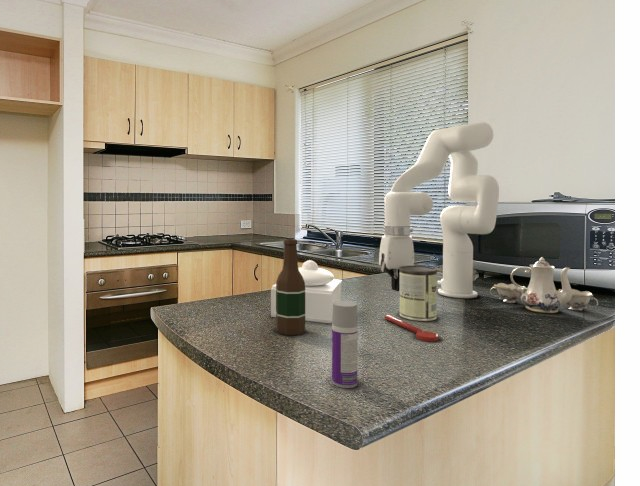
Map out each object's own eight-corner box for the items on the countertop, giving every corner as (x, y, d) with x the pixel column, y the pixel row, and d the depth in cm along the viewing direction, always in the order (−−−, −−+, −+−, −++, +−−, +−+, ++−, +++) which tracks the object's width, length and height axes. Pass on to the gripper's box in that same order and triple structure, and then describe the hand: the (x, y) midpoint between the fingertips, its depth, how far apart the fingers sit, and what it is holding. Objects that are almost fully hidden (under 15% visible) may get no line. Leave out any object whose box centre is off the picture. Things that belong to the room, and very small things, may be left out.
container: (328, 378, 84) (328, 300, 84) (352, 377, 85) (352, 300, 84) (336, 388, 80) (336, 307, 79) (361, 387, 80) (361, 306, 80)
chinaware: (591, 312, 137) (590, 259, 138) (605, 319, 123) (604, 260, 124) (489, 302, 150) (489, 253, 152) (491, 308, 136) (491, 254, 137)
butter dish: (270, 316, 127) (270, 262, 127) (287, 302, 144) (287, 254, 143) (331, 323, 120) (331, 266, 120) (341, 307, 137) (342, 257, 137)
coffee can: (400, 310, 134) (400, 264, 134) (437, 314, 130) (437, 266, 129) (397, 318, 125) (397, 269, 124) (436, 323, 120) (437, 272, 120)
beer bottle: (308, 328, 116) (308, 238, 115) (302, 337, 108) (302, 241, 108) (279, 325, 118) (279, 237, 118) (272, 334, 111) (272, 240, 111)
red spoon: (378, 319, 124) (378, 314, 124) (393, 318, 125) (393, 313, 125) (425, 342, 105) (425, 336, 105) (442, 340, 106) (443, 334, 106)
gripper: (410, 230, 142) (409, 286, 142) (369, 231, 138) (369, 289, 138) (425, 232, 135) (425, 291, 135) (383, 233, 131) (382, 294, 131)
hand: (396, 290), depth 137 cm, fingers closed
